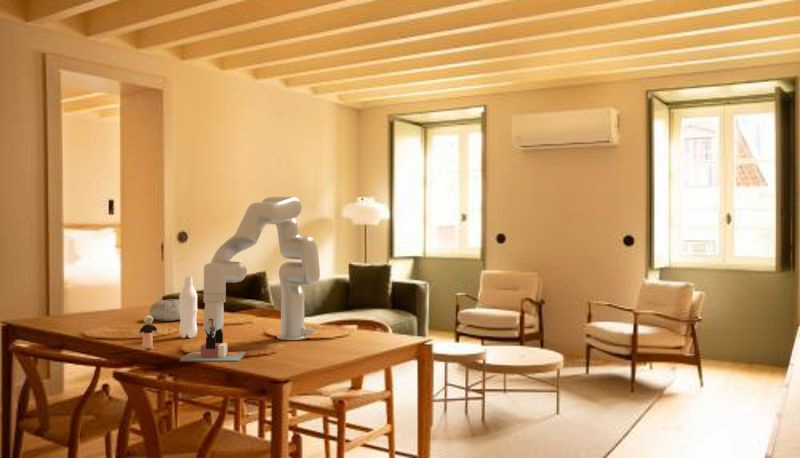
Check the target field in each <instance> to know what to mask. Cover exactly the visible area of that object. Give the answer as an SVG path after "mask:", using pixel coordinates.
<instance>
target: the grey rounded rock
mask: <svg viewBox="0 0 800 458" xmlns="http://www.w3.org/2000/svg"><path fill="white" fill-rule="evenodd" d="M179 309H180V298H177V299H176V298H175V299H174V298H169V299H161V300H159V301H156V302H154V303H153V304H152V305H150V309H149V315H150V316H151V317H153V320H156V321H159V322H174V321H178V320H179V321H180V313H179Z"/></svg>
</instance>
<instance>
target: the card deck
mask: <svg viewBox="0 0 800 458" xmlns="http://www.w3.org/2000/svg"><path fill="white" fill-rule="evenodd" d="M200 352H201V357H225V356H226V355H227V352H228V342H223V343H216V348H215V349H206V342H204V343H203V344H201V345H200Z"/></svg>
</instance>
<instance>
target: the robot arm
mask: <svg viewBox="0 0 800 458" xmlns="http://www.w3.org/2000/svg"><path fill="white" fill-rule="evenodd" d="M301 212H302V202H301V200H300V199H298V198H297V197H295V196H268V197H266V198H264V199H262V201H258V202H253V203H251V204H249V206H247V209H246V211H245V213H244V215H243V217H242V220H241V221H240V223H239V226H238V227H237V230H236V232H235V233H234V234H233V235H232V236H230V238H228V239H227V240H226V241H225V242H224V243H223V244H221V245H220V246H219V248H218V249H217V250H216V251H215V253H214V255H213V258H212V260H210V262H208V263H206V264H204V266H203V303H204V310H203V325H202V328H203V329H202V330H203V331H205V343H206V349H215V348H216V343H224V334H223V333H224V330H223V327H224V325H225V324H224V322H225V321H224V320H225V319H224V318H225V317H224V316H225V314H224V312H225V310H224V303H226V302H227V301H226V300H227V298H226V297H227V293H226V292H227V291H226V288H227V286H226V285H227V284H226V283H238V282H242V281H243V280H245V278H246V276H247V274H248V273H247V272H248V270H247V267H246V266H245V264H243V263H242V262H239V261H231V260H232V258H234V256H236V255H238V254H239V253H241V252H243V251H246V250H247V249H250V248H252V247H254V246H255V245H256V244H257V242H258V241H259V238H260V236H261V234H262V232H263V231H264V230H263V229H264V228H265V226H266V225H275V226H276V231H277V237H278V238H277V240H278V244H279V245H278V247H279V252H280V254H281V256H282V257H283V259H289V260H301V261H286V262H284V263H282V264H281V265H280V267H279V268H278V269H279V270H278V277H279V283H280V293H281V294H280V296H281V297H280V333H279V334H277V335H276V338H277V339H278V340H283V341H299V340H307V338H309V336H308V335H309V334H311V335H315V333H316V330H315V328H306V327H307V326H306V325H305V291H304V289H303V287H302V286H305V287H306V286H308V287H309V286H310V287H311V286H315V285H317V283H318V282H319V280H320V276H321V270H320V269H321V268H320V259H319V250H318V245H317V243H316V241H315V238H312V237H311V236H308V235H307V236H306V235H305V236H301V235H300V230H299V225H298V221H297V217H298V216H299V215H300V214H301Z"/></svg>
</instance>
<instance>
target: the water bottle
mask: <svg viewBox="0 0 800 458" xmlns="http://www.w3.org/2000/svg"><path fill="white" fill-rule="evenodd" d="M193 282H194V281H193V276H184V282H183V283H184V285H183V288H182V289H181V291H180V294H179V297H178V299H179V300H180V309H179V313H180V320H179V321H180V322H179V327H178V332H179V335H180V337H181V338H182V339H186V338H187V337H188V339H192V338H196V336H197V334H198V325H197V316H198V315H197V314H198V294H197V291H196V289H195V288H194V285H193Z"/></svg>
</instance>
